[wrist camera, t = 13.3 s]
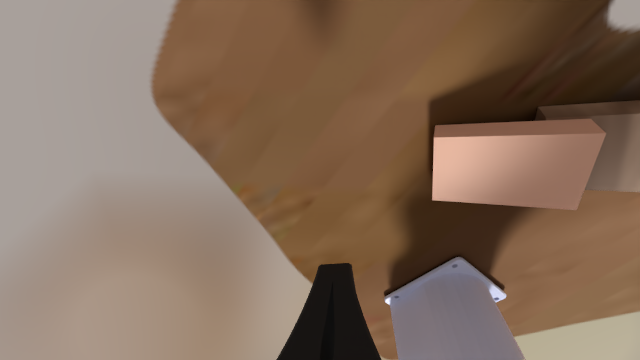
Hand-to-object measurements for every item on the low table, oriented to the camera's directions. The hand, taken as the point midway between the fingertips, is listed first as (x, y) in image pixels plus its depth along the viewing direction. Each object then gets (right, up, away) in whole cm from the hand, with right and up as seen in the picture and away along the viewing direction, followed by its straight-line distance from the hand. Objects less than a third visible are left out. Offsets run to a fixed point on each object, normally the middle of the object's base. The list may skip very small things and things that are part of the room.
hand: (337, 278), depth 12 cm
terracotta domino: (+7, +6, +7) cm, 12 cm away
